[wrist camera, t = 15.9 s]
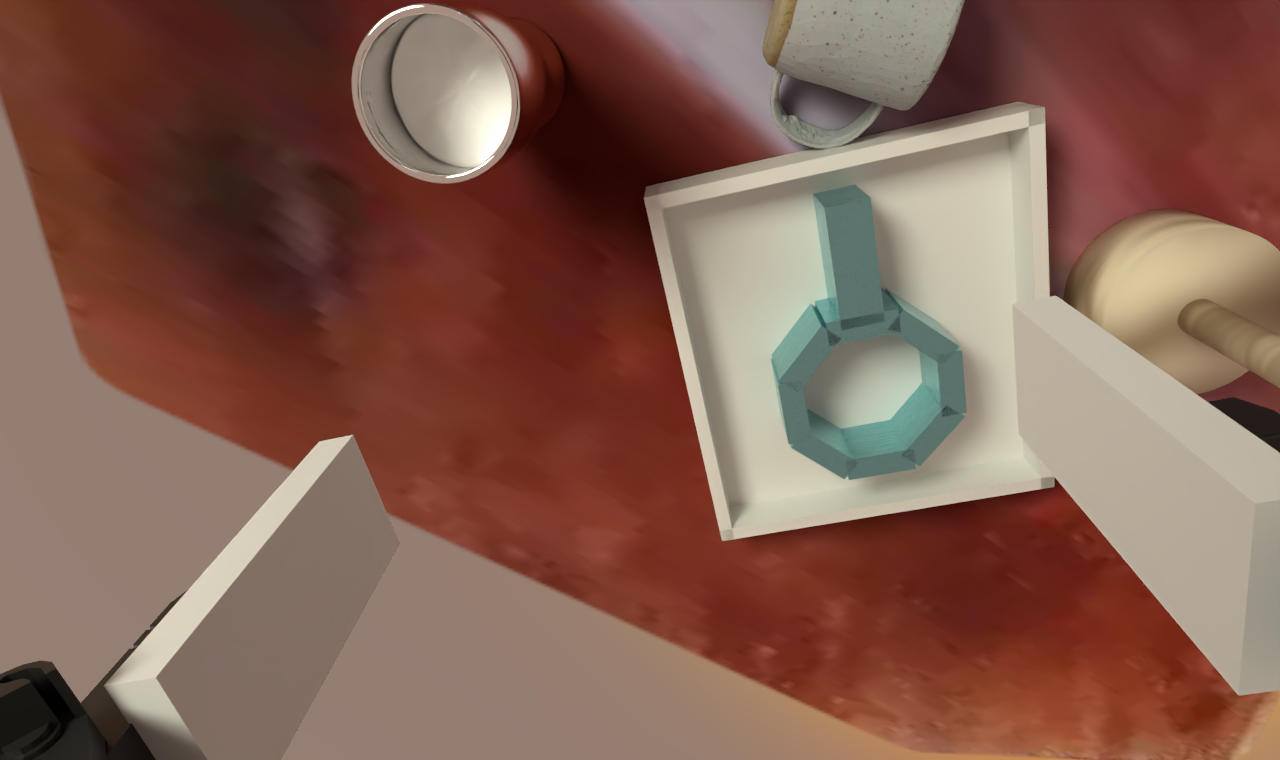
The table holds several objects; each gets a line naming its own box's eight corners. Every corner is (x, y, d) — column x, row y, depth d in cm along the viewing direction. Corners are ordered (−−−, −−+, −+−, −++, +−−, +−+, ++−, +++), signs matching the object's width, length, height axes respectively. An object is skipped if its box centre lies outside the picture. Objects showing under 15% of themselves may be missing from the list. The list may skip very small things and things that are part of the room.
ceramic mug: (789, -85, 40) (811, -106, 33) (943, -48, 40) (997, -61, 33) (736, 126, 44) (745, 147, 37) (875, 158, 45) (909, 184, 38)
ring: (949, 428, 50) (970, 459, 47) (788, 456, 52) (796, 489, 48) (926, 168, 44) (949, 180, 40) (743, 208, 45) (749, 224, 42)
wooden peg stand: (1062, 228, 46) (1262, 331, 30) (1238, 192, 44) (1545, 279, 29) (1064, 375, 49) (1244, 535, 34) (1228, 346, 48) (1493, 498, 32)
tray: (646, 186, 46) (643, 197, 43) (1017, 101, 43) (1044, 107, 40) (719, 511, 55) (722, 541, 51) (1031, 458, 52) (1054, 487, 49)
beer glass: (564, 1, 42) (508, -14, 28) (581, 135, 45) (538, 180, 31) (438, 16, 43) (324, 8, 29) (463, 147, 45) (370, 197, 32)
